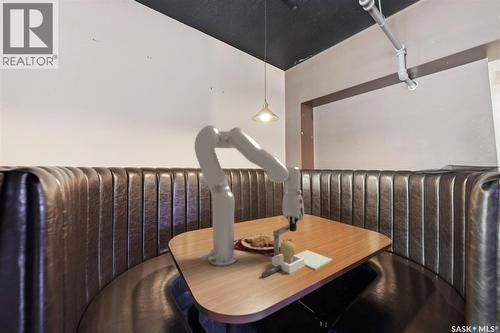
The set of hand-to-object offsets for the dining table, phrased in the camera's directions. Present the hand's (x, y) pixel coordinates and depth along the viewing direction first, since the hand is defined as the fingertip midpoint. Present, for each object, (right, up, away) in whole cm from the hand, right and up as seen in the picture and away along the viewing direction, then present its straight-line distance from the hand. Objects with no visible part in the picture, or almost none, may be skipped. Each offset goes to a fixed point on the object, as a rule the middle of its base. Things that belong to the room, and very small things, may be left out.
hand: (293, 230), depth 93 cm
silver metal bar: (-5, 0, -1) cm, 5 cm away
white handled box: (-9, -11, -14) cm, 20 cm away
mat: (+6, -11, -6) cm, 14 cm away
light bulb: (-5, -11, -12) cm, 17 cm away
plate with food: (-14, -12, +12) cm, 22 cm away
